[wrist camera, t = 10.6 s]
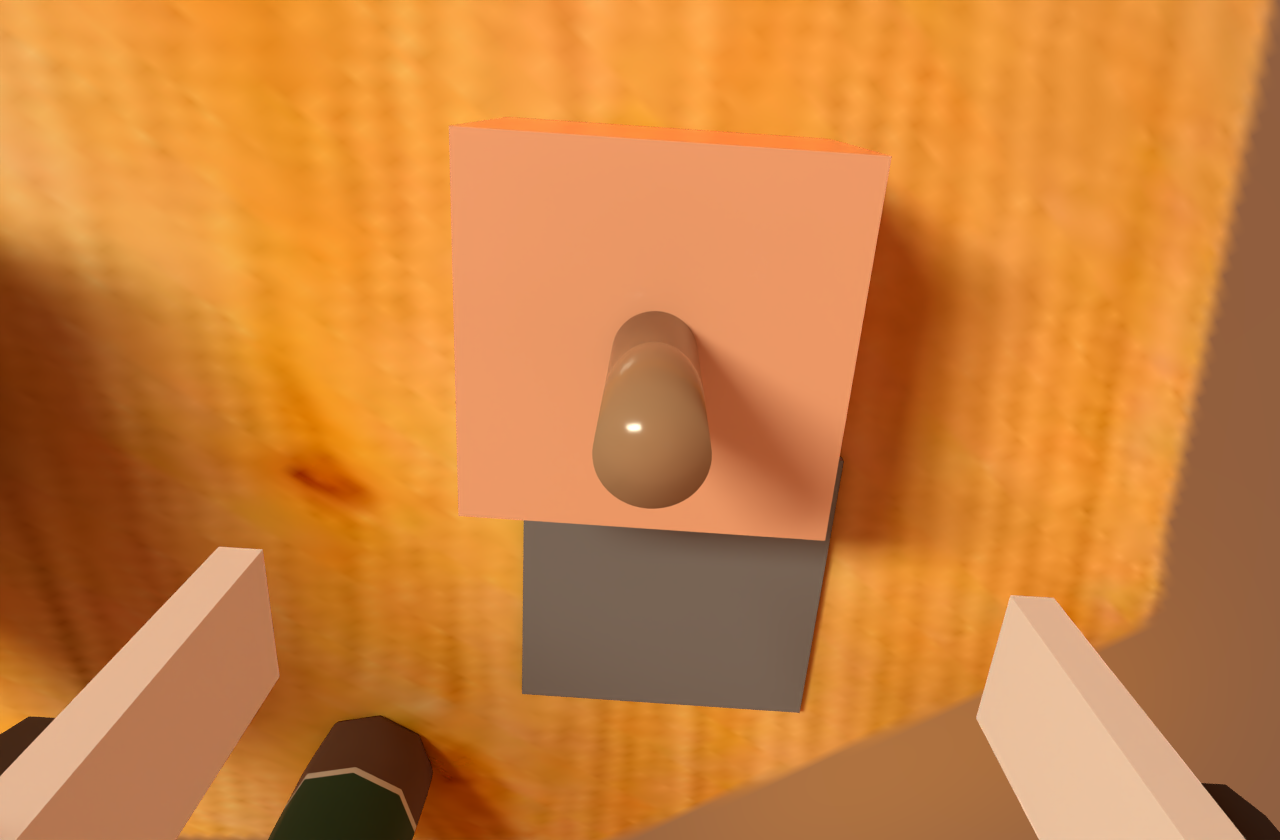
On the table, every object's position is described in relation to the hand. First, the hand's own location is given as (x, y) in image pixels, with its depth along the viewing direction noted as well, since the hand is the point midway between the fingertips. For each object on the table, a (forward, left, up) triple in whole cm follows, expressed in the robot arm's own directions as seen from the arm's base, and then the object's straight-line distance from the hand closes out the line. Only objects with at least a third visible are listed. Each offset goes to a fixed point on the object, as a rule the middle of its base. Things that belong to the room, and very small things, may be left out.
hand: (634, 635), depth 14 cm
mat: (+2, -17, -28) cm, 33 cm away
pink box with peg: (0, 0, -28) cm, 28 cm away
